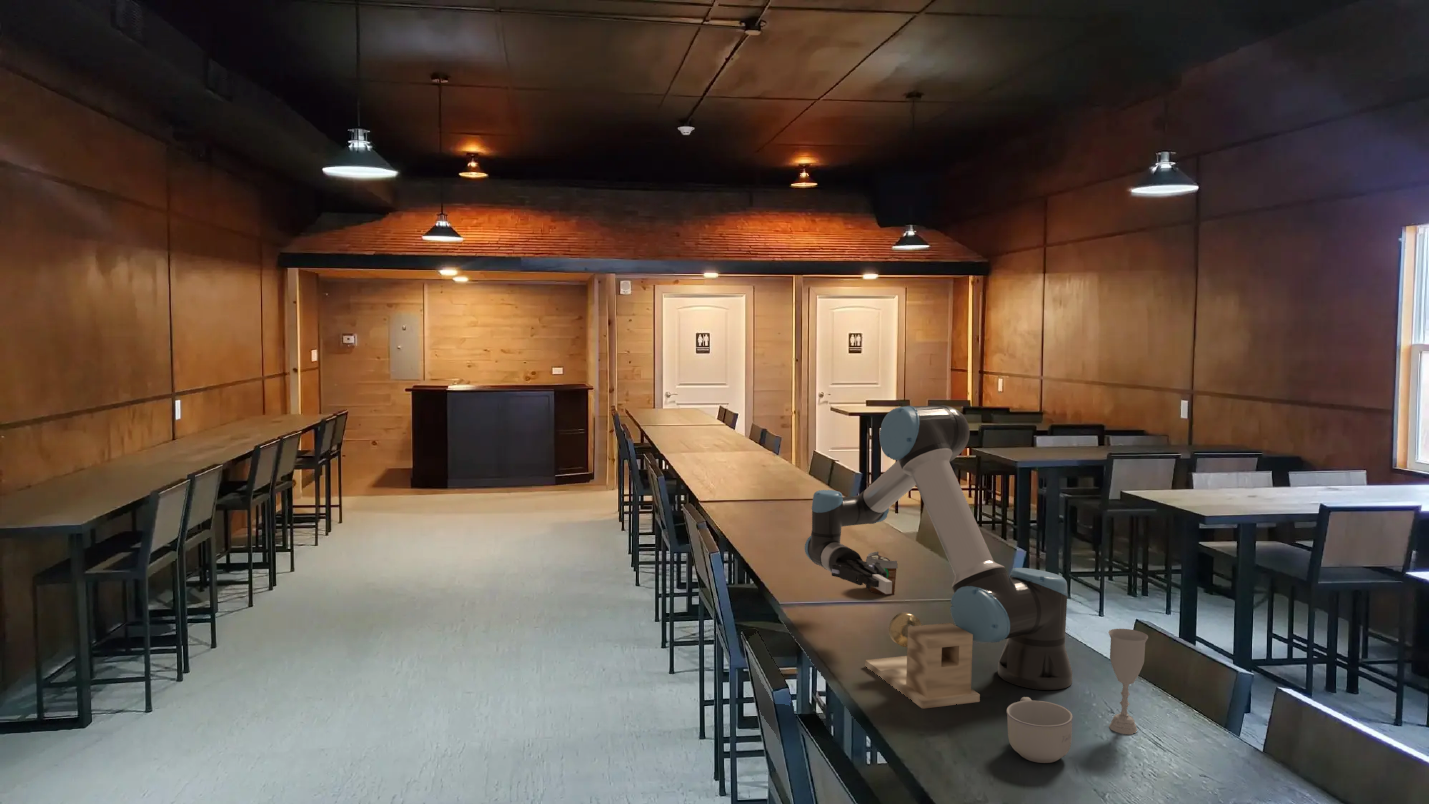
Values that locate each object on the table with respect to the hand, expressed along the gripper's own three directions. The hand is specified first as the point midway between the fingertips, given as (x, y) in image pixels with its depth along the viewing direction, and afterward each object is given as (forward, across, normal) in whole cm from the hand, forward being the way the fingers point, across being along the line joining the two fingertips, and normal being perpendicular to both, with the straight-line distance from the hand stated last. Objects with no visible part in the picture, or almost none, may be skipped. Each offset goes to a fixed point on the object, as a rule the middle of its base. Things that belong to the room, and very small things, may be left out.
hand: (888, 587), depth 208 cm
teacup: (+48, -3, -16) cm, 51 cm away
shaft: (+13, 0, -10) cm, 16 cm away
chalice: (+45, -25, -16) cm, 54 cm away
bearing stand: (+13, 0, -16) cm, 21 cm away
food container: (-52, -26, -18) cm, 61 cm away
